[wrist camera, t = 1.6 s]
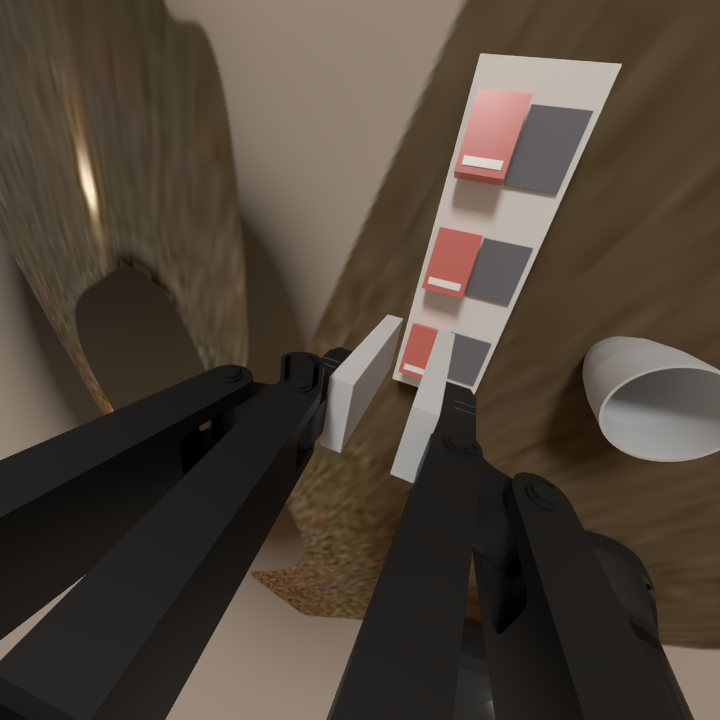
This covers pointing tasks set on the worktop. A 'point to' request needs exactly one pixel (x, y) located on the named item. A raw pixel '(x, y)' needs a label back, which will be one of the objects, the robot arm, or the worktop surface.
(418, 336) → the rocker
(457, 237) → the plate
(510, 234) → the power strip
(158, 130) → the worktop surface
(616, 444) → the cup
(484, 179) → the block
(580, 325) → the worktop surface
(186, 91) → the worktop surface
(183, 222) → the worktop surface
